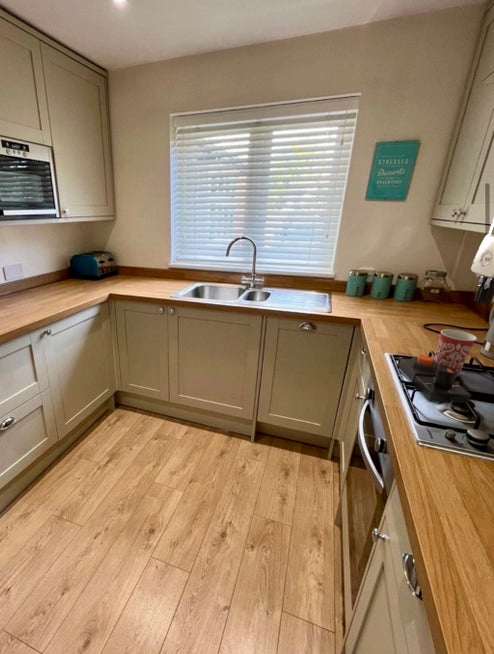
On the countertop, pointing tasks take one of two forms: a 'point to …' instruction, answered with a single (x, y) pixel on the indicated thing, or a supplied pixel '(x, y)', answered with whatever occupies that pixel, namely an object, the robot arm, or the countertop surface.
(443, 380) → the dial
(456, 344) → the mug
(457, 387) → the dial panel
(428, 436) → the countertop surface
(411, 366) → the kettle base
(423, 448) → the countertop surface
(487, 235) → the robot arm
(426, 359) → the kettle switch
